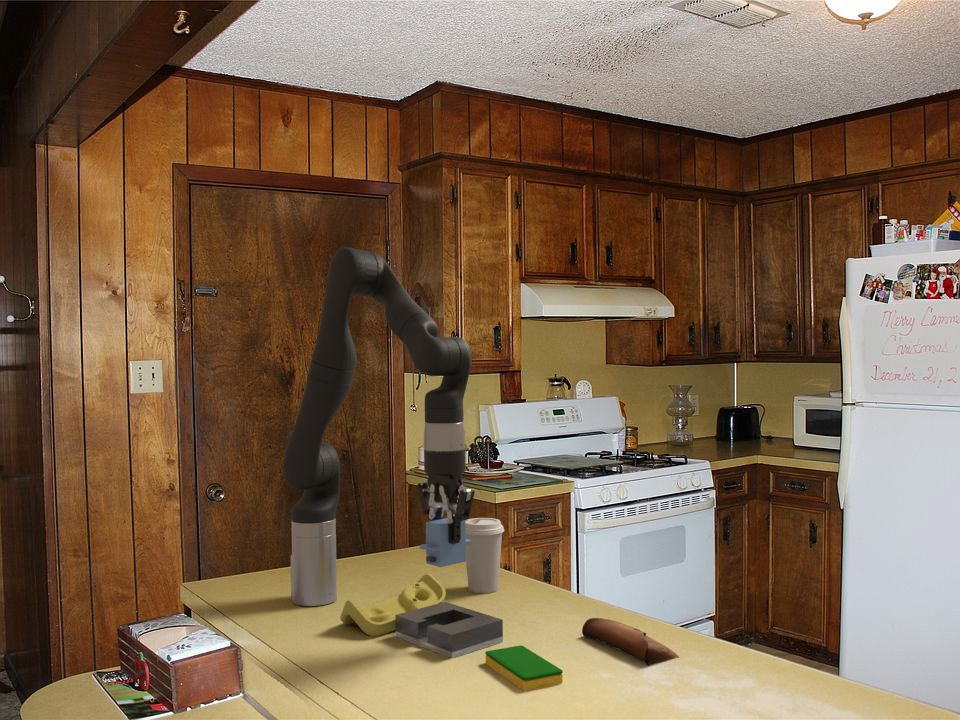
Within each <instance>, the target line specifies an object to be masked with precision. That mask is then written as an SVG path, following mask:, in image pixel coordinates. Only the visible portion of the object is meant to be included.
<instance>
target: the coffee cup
mask: <svg viewBox="0 0 960 720" xmlns="http://www.w3.org/2000/svg"><path fill="white" fill-rule="evenodd" d="M465 529H466V539H468V540H472V544H468V545H466V562H465V565H466V566H465V567H466V575H467V576H466V577H467V587H468V591H469V592H470V591H471V593H473V592H474V594H491V592H492V593H495V591H496V592H498V590H499V582H500V581H499V580H500V565H501V554H502V552H501V551H502V540H503V539H502V538H503V533H504V532H505V528H504V525H502V522H501V520H500V519H498V518H491V517H476V518H474V517H473V518H469V519H467V520H465Z"/></svg>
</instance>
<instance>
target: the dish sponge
mask: <svg viewBox="0 0 960 720" xmlns="http://www.w3.org/2000/svg"><path fill="white" fill-rule="evenodd" d="M485 664H486V665H487V666H489V667H490V668H492V669H493V670H494V671H495V672H497V673H498V674H500V675H501V676H502V677H504V678H506V680H508V681H510V682H511V683H512V684H514V685H515V686H516V685H517V686H516V687H518V688H519V689H521V690H522V691H530V690H535V689H536V690H537V689H540V687H541V688H545V686H546V687H550V686H549V685H551V686H555V685H560V684H562V683H563V682H564V681H563V679H564V678H563V677H564V676H563V675H564V674H563V672H564V671H563V669H561V667H558V666H556V665H555V664H553V663H551V662H550V661H548V660H546V659H545V658H543V657H542V656H540V655H538V654H537V653H536V652H534V651H532V650H530V649H529V648H527V647H526V646H524V645H521V644H520V645H514V646H508V647H504V648H498V649H492V650H487V651H485ZM554 684H555V685H554Z"/></svg>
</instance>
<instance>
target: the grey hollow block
mask: <svg viewBox="0 0 960 720" xmlns="http://www.w3.org/2000/svg"><path fill="white" fill-rule="evenodd" d="M503 621H504V620H503V619H502V618H498V617H495V616H493V615H492V616H491V615H489V614H486V613H483V612H480V611H476V610H473V609H470V608H467V607H463V606H459V605H458V604H457V605H456V604H454V603H450V602H447V601H442V603H439V604H435V605H431V606H427V607H424V608H420V609H416V610H412V611H409V612H405V613H401V614H397V615H395V623H396V630H395V637H396V638H398V639H400V640H403V641H407V642H408V643H412V644H414V645H417V646H419V647H422V648H425V649H427V650H430V651H432V652H435V653H438V654H440V655H442V656H446V657H448V658H451V659H454V658H459V657H460V656H463V655H466V654H470V653H473V652H476V651H479V650H483V649H485V648H488V647H491V646H494V645H497V644H500V643H503V642H504V629H503V627H504V625H503Z"/></svg>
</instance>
